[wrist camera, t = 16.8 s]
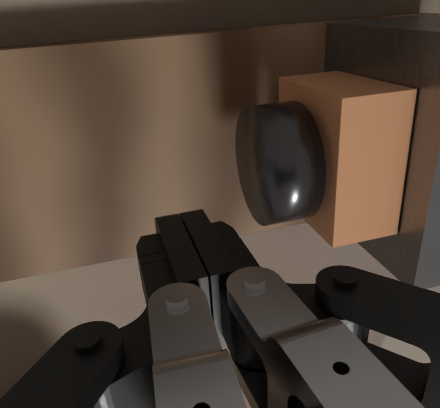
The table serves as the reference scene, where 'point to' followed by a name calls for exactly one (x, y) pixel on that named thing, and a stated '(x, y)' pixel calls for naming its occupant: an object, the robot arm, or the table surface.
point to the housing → (420, 134)
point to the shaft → (280, 162)
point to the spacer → (357, 151)
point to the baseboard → (132, 136)
